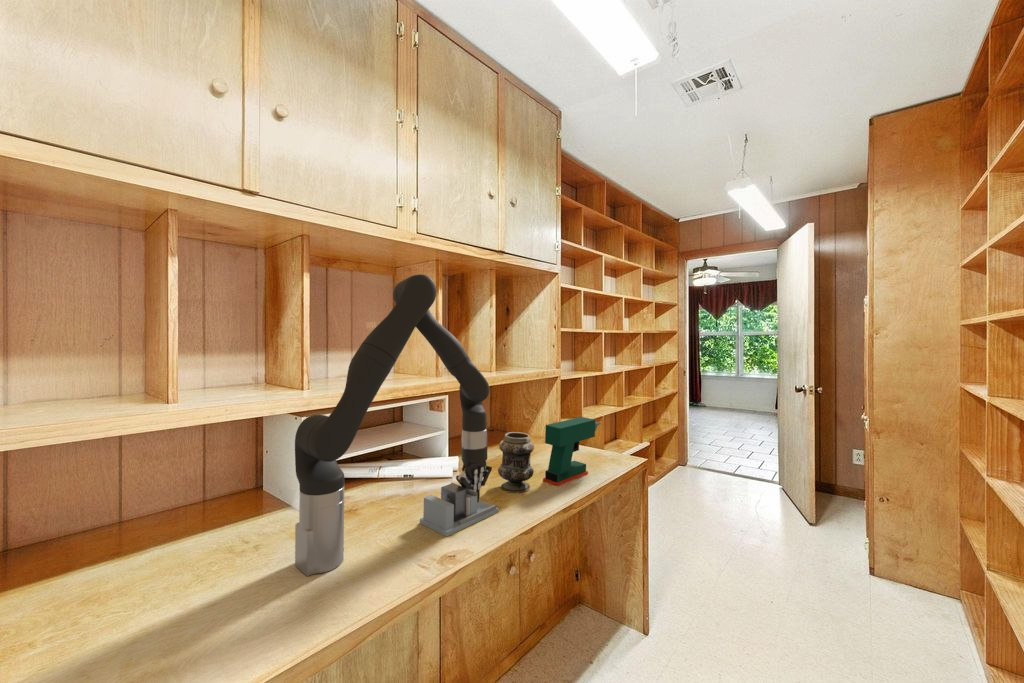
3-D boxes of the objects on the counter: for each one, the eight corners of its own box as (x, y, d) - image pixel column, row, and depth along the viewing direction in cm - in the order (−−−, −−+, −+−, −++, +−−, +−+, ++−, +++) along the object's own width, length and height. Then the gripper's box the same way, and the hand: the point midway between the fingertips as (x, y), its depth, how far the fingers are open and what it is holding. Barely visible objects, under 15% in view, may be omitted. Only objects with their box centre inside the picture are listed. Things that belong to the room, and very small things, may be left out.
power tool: (592, 461, 174) (594, 413, 173) (607, 466, 169) (609, 416, 168) (541, 480, 151) (543, 425, 150) (557, 486, 146) (559, 428, 145)
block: (455, 522, 115) (455, 493, 115) (440, 515, 119) (441, 487, 118) (465, 517, 118) (466, 488, 118) (451, 510, 122) (452, 483, 122)
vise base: (446, 536, 109) (447, 509, 109) (419, 523, 116) (420, 497, 116) (498, 511, 125) (499, 487, 124) (472, 501, 132) (472, 478, 132)
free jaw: (470, 519, 117) (471, 493, 116) (446, 508, 123) (447, 484, 123) (478, 516, 119) (479, 490, 119) (454, 505, 125) (455, 481, 125)
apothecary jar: (539, 485, 146) (540, 433, 145) (522, 497, 136) (524, 441, 135) (509, 478, 152) (510, 428, 151) (490, 489, 142) (492, 435, 141)
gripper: (481, 437, 131) (481, 492, 132) (448, 446, 121) (448, 506, 122) (499, 441, 126) (499, 498, 127) (466, 452, 116) (466, 514, 117)
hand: (474, 502), depth 125 cm, fingers closed
